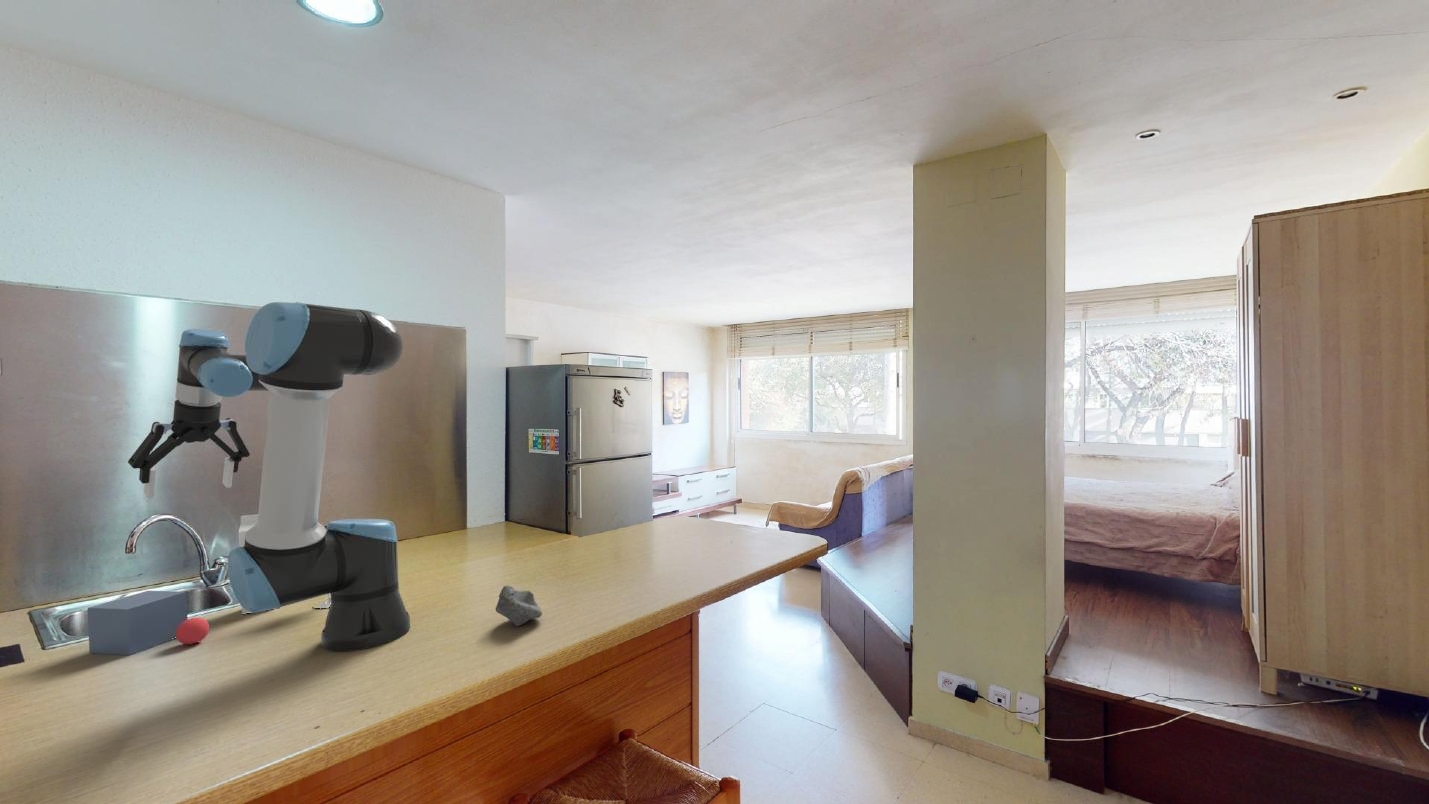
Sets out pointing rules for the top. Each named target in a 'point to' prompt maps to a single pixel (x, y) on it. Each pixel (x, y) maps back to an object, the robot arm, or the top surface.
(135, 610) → the blue gray block
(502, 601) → the grey rock
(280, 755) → the top surface
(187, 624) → the ball
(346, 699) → the top surface
